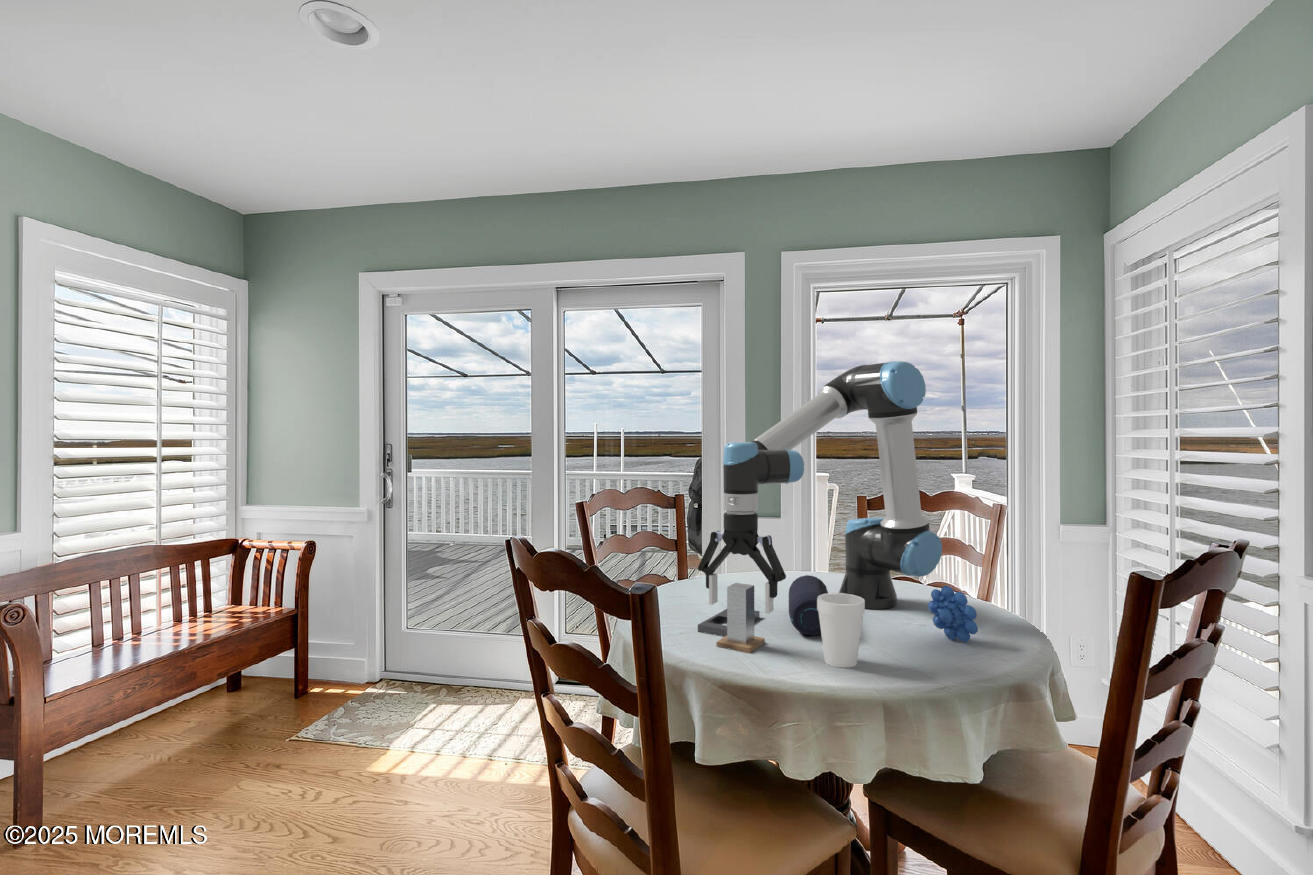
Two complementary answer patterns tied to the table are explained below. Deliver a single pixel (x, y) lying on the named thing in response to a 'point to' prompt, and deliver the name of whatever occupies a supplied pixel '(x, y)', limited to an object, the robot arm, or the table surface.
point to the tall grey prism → (740, 613)
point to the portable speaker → (805, 604)
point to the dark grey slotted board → (718, 629)
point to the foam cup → (840, 627)
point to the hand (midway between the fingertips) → (740, 607)
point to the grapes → (953, 614)
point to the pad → (741, 647)
